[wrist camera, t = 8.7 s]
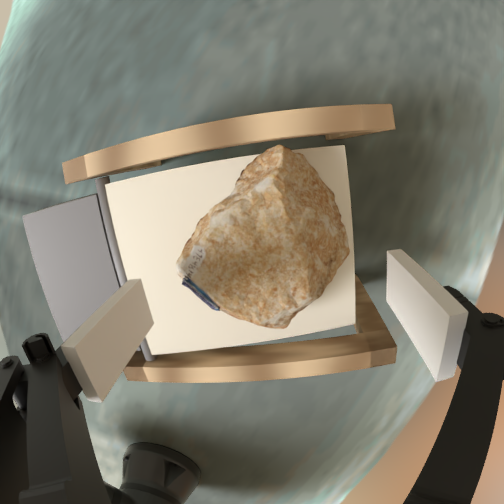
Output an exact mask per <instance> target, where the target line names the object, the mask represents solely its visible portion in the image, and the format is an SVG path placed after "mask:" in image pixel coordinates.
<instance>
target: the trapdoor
mask: <svg viewBox="0 0 504 504" xmlns="http://www.w3.org/2000/svg"><path fill="white" fill-rule="evenodd" d="M291 151H292V152H294V153H301V154H303V155H304V156H305V158H306V159H307V161H308V163H309V164H310V165H311V166H312V167H313V168H315V169H316V171H317V172H318V175H319V177H320V178H321V180H322V181H323V182H324V183H325V184H326V185H327V187H328V188H329V189H330V190H331V191H332V192H333V193H334V195H335V203H336V205H337V206H338V209H339V213H340V214H341V222H342V223H343V224H344V226H345V229H346V233H347V236H348V244H349V249H350V253H349V255H348V257H347V258H346V259H345V261H344V262H343V264H342V265H341V266H340V267H339V268H338V269H337V272H336V275H335V276H334V278H333V280H332V281H331V282H330V283H329V284H328V285H327V286H326V288H325V290H324V292H323V294H322V296H321V297H319V298H318V299H316V300H314V301H313V302H312V303H311V304H309V305H308V306H307V307H306V308H305V309H303V310H302V311H299V312H298V313H297V314H296V316H295V317H294V318H293V319H292V320H291V322H290V324H289V325H288V327H287V328H284V329H274V328H267V327H263V326H258V325H255V324H253V323H251V322H248V321H245V320H240V319H237V318H234V317H232V316H230V315H228V314H226V313H224V312H223V311H221V310H220V311H216V310H213V309H211V308H210V307H209V306H208V305H207V304H206V303H204V302H203V301H202V300H201V299H200V298H199V297H197V296H196V295H195V294H194V293H193V292H192V291H191V290H190V289H189V288H187V287H185V286H184V285H182V281H183V280H182V278H181V277H180V276H179V275H178V274H177V270H176V261H177V259H178V258H179V257H180V255H181V253H182V250H183V248H184V246H185V244H186V242H187V241H188V240H189V239H190V238H191V236H192V234H193V233H194V231H195V229H196V226H197V223H198V222H199V221H200V219H201V218H203V217H204V216H205V215H206V214H207V213H208V212H209V210H210V209H211V208H212V207H213V206H214V205H216V204H218V203H219V202H221V201H222V200H223V199H225V198H226V197H228V196H229V195H230V194H231V192H232V191H233V190H234V188H235V183H236V181H237V180H238V178H239V177H240V174H241V172H242V170H244V169H245V168H246V166H247V165H248V164H249V163H251V162H252V161H253V160H254V159H255V158H256V157H257V156H259V155H260V154H257V155H250V156H243V157H237V158H230V159H224V160H218V161H212V162H207V163H201V164H196V165H190V166H185V167H180V168H175V169H170V170H165V171H161V172H156V173H151V174H147V175H142V176H138V177H134V178H130V179H125V180H121V181H117V182H113V183H110V179H109V176H107V177H103V178H99V179H95V182H96V188H97V193H96V194H92V195H89V196H85V197H81V198H77V199H74V200H70V201H67V202H63V203H60V204H56V205H53V206H50V207H47V208H44V209H41V210H38V211H35V212H32V213H30V214H27V215H24V216H22V217H23V221H24V226H25V230H26V234H27V238H28V242H29V245H30V249H31V253H32V256H33V260H34V263H35V266H36V269H37V273H38V276H39V279H40V282H41V285H42V288H43V291H44V294H45V296H46V299H47V302H48V305H49V307H50V310H51V313H52V315H53V318H54V320H55V323H56V325H57V328H58V330H59V332H60V335H61V337H62V339H63V342H65V341H66V340H67V339H68V338H69V337H70V336H71V335H72V334H73V333H74V332H75V331H76V330H77V329H78V328H79V327H80V326H81V325H82V324H83V323H84V322H85V321H86V320H87V319H88V318H89V317H90V316H91V315H92V314H93V313H94V312H95V311H96V310H97V309H98V308H99V307H101V306H102V305H103V304H104V303H105V302H106V301H107V300H108V299H109V298H110V297H111V296H112V295H113V294H114V293H115V292H116V291H117V290H118V289H119V288H120V287H122V286H123V285H124V284H125V283H126V282H127V281H128V280H130V279H141V280H142V284H143V288H144V291H145V295H146V298H147V301H148V305H149V308H150V311H151V315H152V318H153V321H154V325H153V326H152V328H151V329H150V331H149V332H148V334H147V335H146V336H145V338H144V339H143V341H142V342H141V344H140V345H139V347H138V348H137V350H136V351H141V349H142V351H143V354H144V356H145V359H146V360H147V361H153V360H155V359H156V358H157V355H158V354H169V353H179V352H189V351H198V350H206V349H214V348H222V347H229V346H237V345H244V344H250V343H257V342H263V341H269V340H275V339H281V338H287V337H292V336H298V335H303V334H309V333H314V332H319V331H324V330H329V329H333V328H338V327H343V326H347V325H352V324H355V265H354V243H353V226H352V212H351V200H350V189H349V179H348V169H347V160H346V152H345V145H339V146H327V147H316V148H306V149H297V150H291Z"/></svg>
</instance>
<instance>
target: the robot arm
mask: <svg viewBox="0 0 504 504" xmlns="http://www.w3.org/2000/svg"><path fill="white" fill-rule="evenodd" d="M386 301H387V303H388V304H389V306H390V307H391V309H392V310H393V312H394V313H395V315H396V316H397V318H398V320H399V321H400V323H401V324H402V326H403V327H404V329H405V331H406V332H407V334H408V335H409V337H410V339H411V340H412V342H413V344H414V345H415V347H416V348H417V350H418V352H419V353H420V355H421V357H422V358H423V360H424V362H425V364H426V365H427V367H428V369H429V370H430V372H431V374H432V376H433V377H434V379H435V381H436V382H438V381H441V380H445V379H448V378H451V377H454V374H455V370H456V366H457V364H458V366H459V367H460V369H461V374H460V377H459V380H458V384H457V386H456V389H455V392H454V395H453V398H452V401H451V404H450V407H449V409H448V412H447V415H446V417H445V420H444V422H443V425H442V427H441V430H440V432H439V434H438V437H437V439H436V442H435V444H434V446H433V448H432V450H431V453H430V455H429V457H428V459H427V461H426V463H425V465H424V467H423V469H422V471H421V473H420V475H419V477H418V479H417V480H416V482H415V484H414V486H413V488H412V490H411V491H410V493H409V494H408V496H407V498H406V500H405V501H404V503H403V504H470V503H471V500H472V498H473V495H474V492H475V490H476V487H477V484H478V481H479V479H480V476H481V472H482V469H483V466H484V463H485V460H486V456H487V453H488V449H489V445H490V442H491V438H492V434H493V429H494V425H495V420H496V416H497V411H498V405H499V400H500V394H501V388H502V381H503V380H504V318H503V317H501V316H499V315H497V314H494V313H482V312H481V311H479V310H478V309H477V308H476V307H475V306H474V305H473V304H472V303H471V302H470V301H468V299H467V298H466V297H464V295H462V294H461V293H460V292H459V291H458V290H456V289H454V288H452V287H450V286H444V287H443V286H441V285H440V284H439V283H438V282H437V281H436V280H435V279H434V278H433V277H432V276H431V275H430V274H429V273H427V272H426V271H425V270H424V269H423V268H422V267H421V266H420V265H419V264H417V263H416V262H415V261H414V260H413V259H412V258H411V257H410V256H408V255H407V254H406V253H405V252H404V251H403V250H401V249H397V250H389V251H387V295H386ZM153 325H154V321H153V318H152V315H151V311H150V308H149V305H148V301H147V298H146V295H145V291H144V288H143V284H142V280H141V279H130V280H128V281H127V282H126V283H125V284H124V285H123V286H122V287H120V288H119V289H118V290H117V291H116V292H115V293H114V294H113V295H112V296H111V297H110V298H109V299H108V300H107V301H106V302H105V303H104V304H103V305H102V306H101V307H99V308H98V309H97V310H96V311H95V312H94V313H93V314H92V315H91V316H90V317H89V318H88V319H87V320H86V321H85V322H84V323H83V324H82V325H81V326H80V327H79V328H78V329H77V330H76V331H75V332H74V333H73V334H72V335H71V336H70V337H69V338H68V339H67V340H66V341H65V342H64V343H63V344H62V345H61V346H60V347H59V348H58V349H57V350H56V351H55V350H54V348H53V345H52V343H51V341H50V339H49V336H48V334H46V333H39V334H35V335H33V336H31V337H29V338H28V339H26V340H25V341H24V342H23V344H22V347H23V349H24V351H25V353H26V356H27V358H28V360H29V361H30V364H29V365H22V363H21V361H20V359H19V358H18V356H8V357H6V358H3V359H2V361H1V362H0V504H184V503H185V501H186V500H187V499H188V497H189V496H190V495H191V493H192V492H193V491H194V489H195V488H196V487H197V485H198V483H199V479H200V470H199V468H198V467H197V465H196V464H195V463H194V462H192V461H191V460H190V459H189V458H187V457H185V456H184V455H182V454H180V453H178V452H176V451H174V450H171V449H169V448H166V447H163V446H160V445H155V444H150V443H135V444H132V445H130V446H129V447H128V448H127V450H126V452H125V454H124V457H123V477H122V484H121V487H120V489H117V488H115V487H113V486H112V485H110V484H108V483H106V482H105V481H103V479H102V476H101V473H100V470H99V467H98V463H97V460H96V457H95V453H94V450H93V446H92V443H91V439H90V435H89V431H88V427H87V423H86V419H85V414H84V410H83V405H82V402H81V400H80V398H79V396H78V395H79V394H80V392H81V391H82V390H83V392H84V394H85V396H86V398H87V399H88V401H94V402H101V403H102V402H103V401H104V399H105V398H106V396H107V394H108V393H109V391H110V390H111V388H112V387H113V385H114V384H115V382H116V380H117V379H118V377H119V376H120V374H121V373H122V371H123V370H124V368H125V367H126V365H127V364H128V362H129V361H130V359H131V357H132V356H133V354H134V353H135V351H136V350H137V348H138V347H139V345H140V344H141V342H142V341H143V339H144V338H145V336H146V335H147V334H148V332H149V331H150V329H151V328H152V326H153ZM13 399H14V400H15V402H16V404H17V405H18V407H17V409H16V408H15V406H14V403H13Z"/></svg>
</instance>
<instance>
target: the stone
mask: <svg viewBox="0 0 504 504" xmlns="http://www.w3.org/2000/svg"><path fill="white" fill-rule="evenodd" d="M349 253H350V249H349V244H348V236H347V233H346V229H345V226H344V224H343V223H342V222H341V214H340V213H339V209H338V206H337V205H336V203H335V195H334V193H333V192H332V191H331V190H330V189H329V188H328V187H327V185H326V184H325V183H324V182H323V181H322V180H321V178H320V177H319V175H318V172H317V171H316V169H315V168H313V167H312V166H311V165H310V164H309V163H308V161H307V159H306V158H305V156H304V155H303V154H301V153H294V152H292V151H291V150H290V149H289V148H286V147H284V146H282V145H277V146H275V147H272V148H269V149H266V151H265V152H264V153H262V154H260V155H259V156H257V157H256V158H255V159H254V160H253V161H252V162H251V163H249V164H248V165H247V166H246V168H245V169H244V170H242V172H241V174H240V177H239V178H238V180H237V181H236V183H235V188H234V190H233V191H232V192H231V194H230V195H229V196H228V197H226V198H225V199H223V200H222V201H221V202H219V203H218V204H216V205H214V206H213V207H212V208H211V209H210V210H209V212H208V213H207V214H206V215H205V216H204V217H203V218H201V219H200V221H199V222H198V223H197V226H196V229H195V231H194V233H193V234H192V236H191V238H190V239H189V240H188V241H187V242H186V244H185V246H184V248H183V250H182V253H181V255H180V257H179V258H178V259H177V261H176V270H177V274H178V275H179V276H180V277H181V278H182V280H183V281H182V285H184V286H185V287H187V288H189V289H190V290H191V291H192V292H193V293H194V294H195V295H196V296H197V297H199V298H200V299H201V300H202V301H203V302H204V303H206V304H207V305H208V306H209V307H210V308H211V309H213V310H216V311H220V310H221V311H223V312H224V313H226V314H228V315H230V316H232V317H234V318H237V319H240V320H245V321H248V322H251V323H253V324H255V325H258V326H263V327H267V328H274V329H284V328H287V327H288V325H289V324H290V322H291V320H292V319H293V318H294V317H295V316H296V314H297V313H298V312H299V311H302V310H303V309H305V308H306V307H307V306H308V305H309V304H311V303H312V302H313V301H314V300H316V299H318V298H319V297H321V296H322V294H323V292H324V290H325V288H326V286H327V285H328V284H329V283H330V282H331V281H332V280H333V278H334V276H335V275H336V272H337V269H338V268H339V267H340V266H341V265H342V264H343V262H344V261H345V259H346V258H347V257H348V255H349Z"/></svg>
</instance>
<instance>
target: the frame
mask: <svg viewBox="0 0 504 504" xmlns="http://www.w3.org/2000/svg"><path fill="white" fill-rule="evenodd" d="M393 129H395V123H394V116H393V109H392V104H365V105H342V106H327V107H314V108H303V109H294V110H285V111H276V112H269V113H261V114H254V115H248V116H241V117H235V118H229V119H224V120H218V121H213V122H208V123H203V124H198V125H193V126H188V127H184V128H179V129H175V130H171V131H167V132H162V133H158V134H154V135H151V136H147V137H143V138H139V139H136V140H132V141H128V142H125V143H121V144H118V145H115V146H111V147H108V148H105V149H102V150H99V151H95V152H92V153H89V154H86V155H83V156H80V157H78V158H75V159H72V160H69V161H66V162H64V163H62V165H63V172H64V177H65V183H66V184H69V183H73V182H78V181H83V180H87V179H92V178H97V177H102V176H107V175H113V174H118V173H124V172H129V171H135V170H141V169H147V168H151V167H155V166H160V165H161V160H165V159H169V158H174V157H179V156H184V155H188V154H194V153H199V152H204V151H209V150H215V149H221V148H227V147H233V146H239V145H245V144H252V143H259V142H266V141H274V140H282V139H290V138H299V137H309V136H319V135H325V137H326V140H332V139H345V138H350V137H355V136H360V135H365V134H371V133H376V132H382V131H387V130H393ZM354 327H355V329H356V332H357V334H353V335H346V336H339V337H331V338H323V339H315V340H307V341H298V342H288V343H277V344H266V345H254V346H240V347H223V348H214V349H206V350H198V351H189V352H179V353H169V354H158V355H157V358H156V359H155V360H153V361H147V360H146V359H145V356H144V354H143V351H142V349H141V351H135V353H134V354H133V356H132V357H131V359H130V361H129V362H128V364H127V365H126V367H125V368H124V370H123V371H124V374H125V376H126V378H127V380H128V381H145V382H176V383H211V382H242V381H260V380H274V379H286V378H297V377H307V376H315V375H324V374H331V373H339V372H346V371H352V370H359V369H365V368H371V367H376V366H382V365H387V364H392V363H395V361H396V353H397V345H396V343H395V342H394V340H393V338H392V336H391V334H390V332H389V331H388V329H387V327H386V325H385V323H384V321H383V320H382V318H381V316H380V314H379V313H378V311H377V309H376V307H375V305H374V304H373V302H372V300H371V298H370V297H369V295H368V293H367V292H366V290H365V288H364V286H363V285H362V283H361V281H360V280H359V278H358V276H357V275H356V274H355V324H354Z"/></svg>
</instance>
